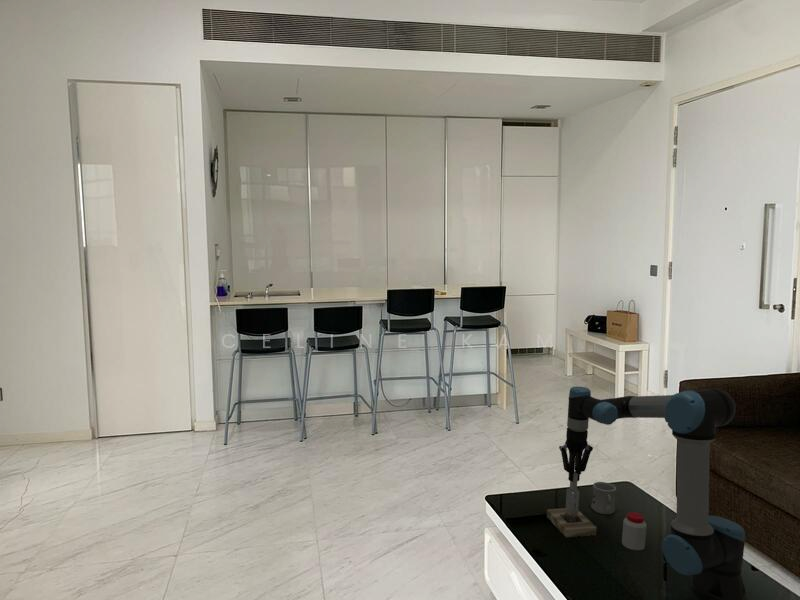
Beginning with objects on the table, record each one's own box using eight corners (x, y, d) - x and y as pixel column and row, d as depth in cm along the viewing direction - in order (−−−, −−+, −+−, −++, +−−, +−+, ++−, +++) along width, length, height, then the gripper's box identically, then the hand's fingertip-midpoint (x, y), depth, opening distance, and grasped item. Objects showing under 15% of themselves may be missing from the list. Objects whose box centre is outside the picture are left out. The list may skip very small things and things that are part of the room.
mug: (588, 504, 244) (590, 481, 243) (610, 505, 244) (612, 482, 243) (597, 518, 232) (598, 494, 231) (620, 519, 232) (622, 495, 230)
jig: (596, 535, 219) (596, 527, 218) (565, 537, 216) (566, 529, 216) (575, 514, 234) (575, 507, 234) (546, 516, 232) (547, 509, 232)
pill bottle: (646, 551, 208) (649, 521, 207) (623, 548, 210) (625, 519, 209) (642, 540, 216) (644, 511, 215) (620, 538, 217) (622, 509, 216)
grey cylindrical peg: (579, 528, 224) (581, 492, 222) (568, 529, 223) (570, 493, 221) (573, 522, 228) (575, 487, 227) (562, 523, 227) (564, 488, 226)
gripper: (588, 424, 226) (584, 484, 229) (556, 425, 224) (552, 485, 226) (598, 431, 219) (594, 492, 221) (565, 432, 216) (561, 494, 219)
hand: (573, 489), depth 224 cm, fingers closed
